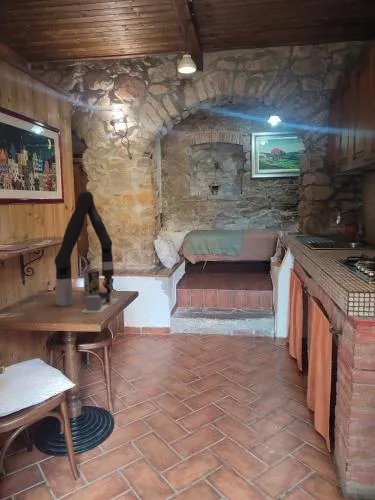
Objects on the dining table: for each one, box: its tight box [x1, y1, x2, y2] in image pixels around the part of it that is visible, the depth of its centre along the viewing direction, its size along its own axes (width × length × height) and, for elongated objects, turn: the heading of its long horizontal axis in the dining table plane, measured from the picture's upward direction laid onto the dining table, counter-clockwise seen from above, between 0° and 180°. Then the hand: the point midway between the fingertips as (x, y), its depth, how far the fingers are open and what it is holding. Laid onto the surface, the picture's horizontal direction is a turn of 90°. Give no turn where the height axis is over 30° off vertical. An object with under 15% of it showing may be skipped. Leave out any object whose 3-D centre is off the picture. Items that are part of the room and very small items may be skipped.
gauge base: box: [80, 295, 120, 314], centre depth 234 cm, size 12×31×9 cm, turn 170°
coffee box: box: [83, 270, 101, 296], centre depth 268 cm, size 9×6×16 cm
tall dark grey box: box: [97, 291, 111, 306], centre depth 233 cm, size 10×13×6 cm
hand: (109, 294), depth 246 cm, fingers closed
